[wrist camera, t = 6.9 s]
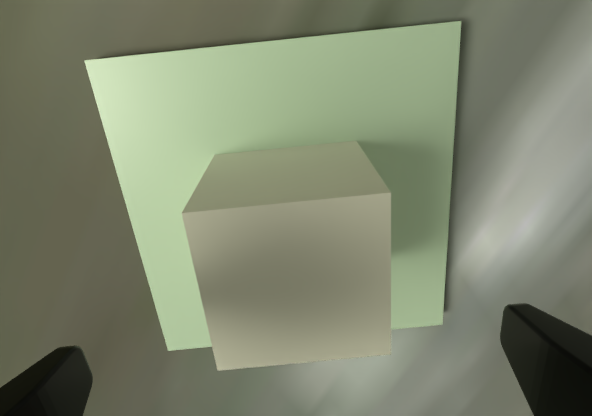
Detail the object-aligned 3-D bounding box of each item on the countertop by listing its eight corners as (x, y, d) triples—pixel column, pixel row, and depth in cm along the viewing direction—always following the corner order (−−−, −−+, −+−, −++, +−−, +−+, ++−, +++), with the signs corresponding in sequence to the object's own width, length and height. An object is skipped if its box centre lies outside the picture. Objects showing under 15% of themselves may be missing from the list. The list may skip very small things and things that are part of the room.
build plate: (436, 312, 18) (442, 324, 17) (172, 338, 18) (168, 350, 18) (451, 21, 13) (461, 20, 13) (95, 59, 14) (84, 60, 13)
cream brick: (356, 140, 14) (391, 192, 10) (360, 262, 16) (391, 354, 12) (214, 154, 14) (181, 213, 10) (236, 274, 16) (217, 370, 12)
